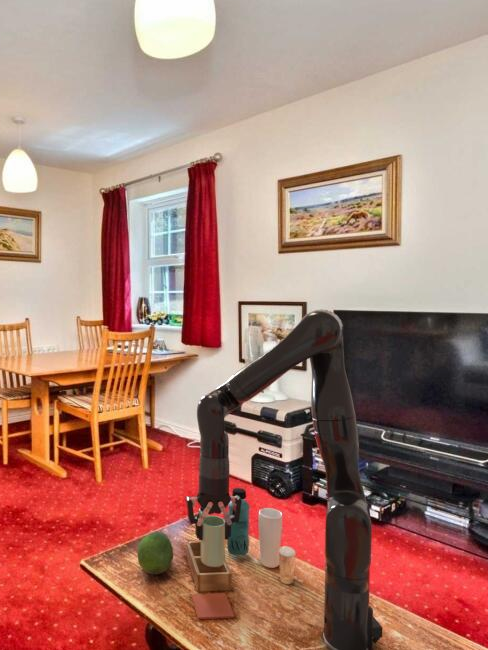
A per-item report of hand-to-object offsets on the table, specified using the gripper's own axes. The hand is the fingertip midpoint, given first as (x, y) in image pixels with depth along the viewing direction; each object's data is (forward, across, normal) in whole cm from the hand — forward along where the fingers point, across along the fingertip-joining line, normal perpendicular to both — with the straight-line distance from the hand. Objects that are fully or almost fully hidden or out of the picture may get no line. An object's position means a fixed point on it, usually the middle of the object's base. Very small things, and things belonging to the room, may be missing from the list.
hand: (213, 538), depth 122 cm
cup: (+6, 0, 0) cm, 6 cm away
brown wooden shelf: (+17, +2, +15) cm, 23 cm away
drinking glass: (+17, +21, +18) cm, 32 cm away
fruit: (+17, -12, +18) cm, 28 cm away
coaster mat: (+17, 0, 0) cm, 17 cm away
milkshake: (+17, +23, +9) cm, 30 cm away
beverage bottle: (+17, +13, +23) cm, 31 cm away
